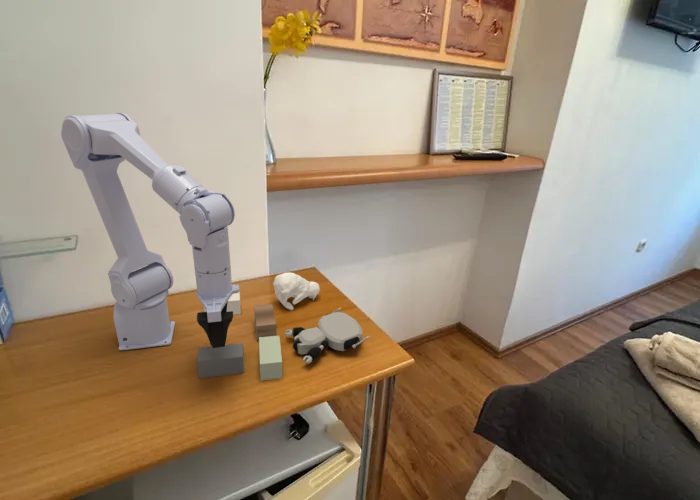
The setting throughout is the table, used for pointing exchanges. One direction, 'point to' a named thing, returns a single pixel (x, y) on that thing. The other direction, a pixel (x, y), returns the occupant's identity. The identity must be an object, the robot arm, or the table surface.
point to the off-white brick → (233, 304)
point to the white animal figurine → (294, 288)
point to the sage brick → (270, 358)
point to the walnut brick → (264, 321)
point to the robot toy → (327, 335)
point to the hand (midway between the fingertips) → (219, 333)
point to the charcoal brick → (220, 360)
